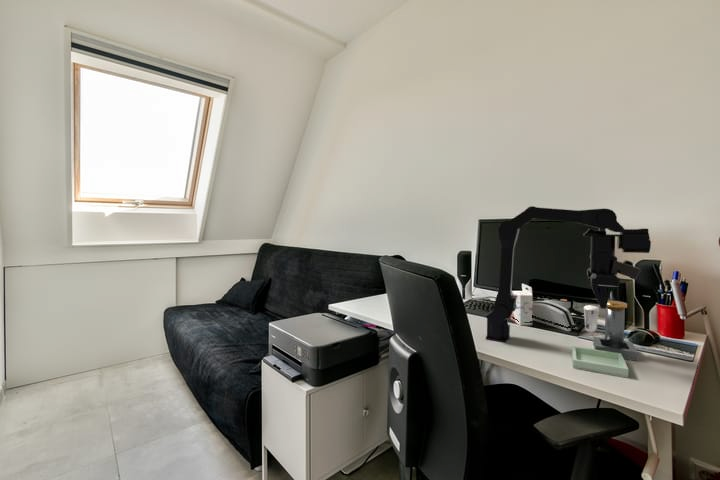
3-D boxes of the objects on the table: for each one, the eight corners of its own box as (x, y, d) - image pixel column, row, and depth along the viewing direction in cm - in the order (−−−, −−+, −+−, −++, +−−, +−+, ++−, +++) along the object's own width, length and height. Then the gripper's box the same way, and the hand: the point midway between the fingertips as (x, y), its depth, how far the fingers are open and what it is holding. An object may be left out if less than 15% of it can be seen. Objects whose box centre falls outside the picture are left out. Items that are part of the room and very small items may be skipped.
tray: (573, 367, 89) (573, 359, 89) (571, 353, 99) (571, 346, 99) (628, 377, 83) (628, 369, 83) (620, 361, 93) (621, 353, 93)
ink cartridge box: (509, 319, 135) (510, 283, 134) (522, 319, 135) (522, 283, 134) (519, 325, 126) (520, 287, 126) (532, 325, 126) (533, 287, 125)
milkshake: (604, 332, 117) (604, 304, 117) (588, 332, 117) (589, 304, 117) (595, 328, 122) (595, 301, 121) (580, 328, 122) (580, 301, 121)
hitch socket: (595, 354, 98) (596, 346, 98) (593, 344, 106) (593, 336, 106) (637, 361, 93) (637, 352, 93) (631, 349, 101) (631, 341, 101)
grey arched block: (578, 329, 121) (572, 305, 119) (570, 335, 119) (563, 310, 117) (539, 317, 136) (533, 295, 134) (531, 323, 135) (525, 300, 133)
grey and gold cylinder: (603, 353, 98) (604, 303, 98) (601, 347, 103) (602, 299, 103) (627, 357, 96) (628, 305, 95) (624, 350, 100) (625, 301, 100)
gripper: (645, 255, 84) (643, 316, 85) (632, 250, 100) (630, 301, 101) (592, 254, 90) (591, 311, 91) (587, 249, 106) (586, 297, 107)
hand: (601, 305), depth 97 cm, fingers open, 9 cm apart
